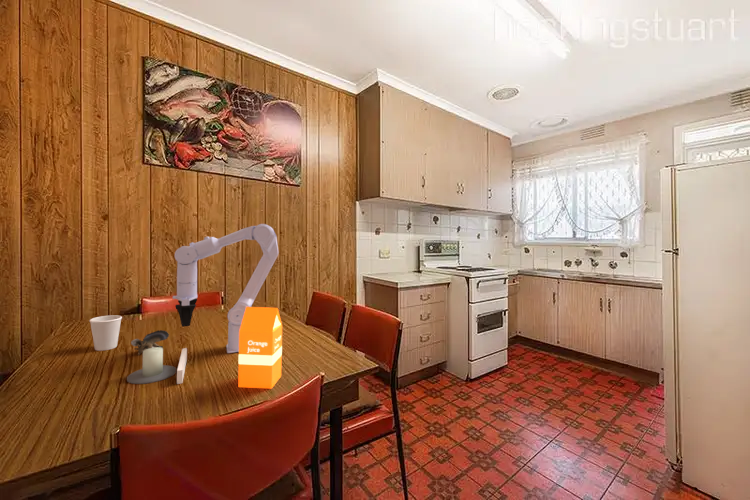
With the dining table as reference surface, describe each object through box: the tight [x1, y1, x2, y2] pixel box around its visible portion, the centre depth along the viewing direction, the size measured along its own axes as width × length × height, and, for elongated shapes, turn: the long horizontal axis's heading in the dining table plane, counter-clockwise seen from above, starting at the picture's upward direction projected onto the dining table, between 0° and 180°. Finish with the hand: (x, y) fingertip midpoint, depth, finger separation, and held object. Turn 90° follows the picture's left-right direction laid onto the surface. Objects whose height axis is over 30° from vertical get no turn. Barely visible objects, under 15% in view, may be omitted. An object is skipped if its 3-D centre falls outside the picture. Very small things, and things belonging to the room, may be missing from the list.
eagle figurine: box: [130, 329, 170, 356], centre depth 103 cm, size 8×7×9 cm
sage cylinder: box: [142, 346, 164, 377], centre depth 85 cm, size 4×4×6 cm
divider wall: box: [176, 347, 188, 385], centre depth 89 cm, size 1×18×4 cm, turn 28°
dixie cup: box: [89, 314, 123, 352], centre depth 105 cm, size 8×8×10 cm
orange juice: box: [237, 306, 283, 390], centre depth 83 cm, size 8×9×20 cm
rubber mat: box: [126, 364, 177, 385], centre depth 85 cm, size 11×11×1 cm
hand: (186, 323), depth 104 cm, fingers open, 7 cm apart
